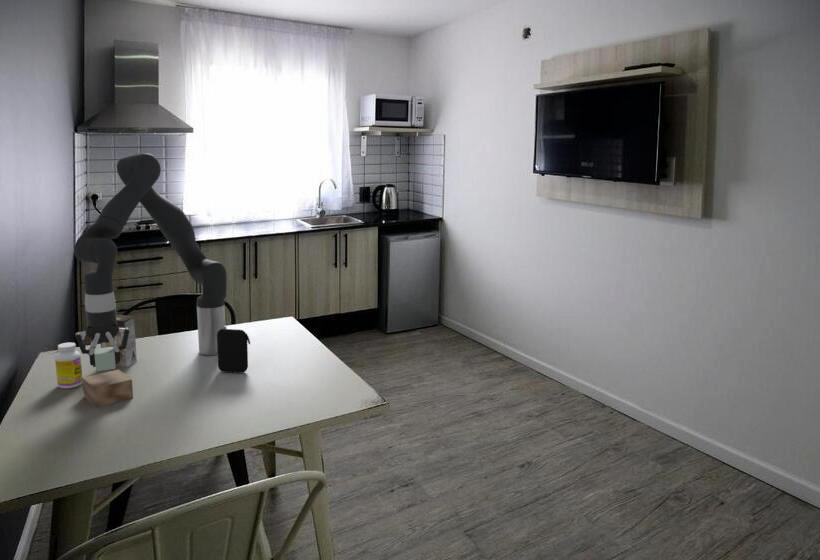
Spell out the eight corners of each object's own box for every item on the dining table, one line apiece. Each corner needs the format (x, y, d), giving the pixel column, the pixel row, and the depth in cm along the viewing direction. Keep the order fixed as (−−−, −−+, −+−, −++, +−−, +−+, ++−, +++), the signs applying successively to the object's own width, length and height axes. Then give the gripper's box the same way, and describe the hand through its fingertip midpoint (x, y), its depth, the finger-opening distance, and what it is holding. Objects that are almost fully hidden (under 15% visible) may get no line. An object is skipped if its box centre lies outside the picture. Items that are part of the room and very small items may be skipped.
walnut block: (119, 388, 177) (118, 369, 176) (133, 398, 171) (131, 379, 169) (84, 397, 170) (82, 377, 169) (96, 408, 164) (94, 388, 162)
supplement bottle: (77, 389, 175) (73, 348, 172) (54, 389, 174) (49, 348, 171) (86, 380, 182) (82, 341, 179) (63, 381, 181) (59, 341, 178)
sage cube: (115, 362, 172) (113, 346, 171) (115, 368, 167) (114, 352, 166) (95, 365, 169) (94, 348, 168) (95, 371, 165) (94, 354, 164)
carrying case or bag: (252, 371, 193) (251, 328, 190) (249, 374, 190) (248, 331, 187) (220, 369, 193) (218, 327, 190) (217, 373, 190) (215, 330, 187)
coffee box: (101, 365, 194) (96, 319, 190) (112, 359, 200) (108, 313, 196) (127, 367, 193) (123, 320, 189) (138, 360, 199) (134, 315, 195)
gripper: (128, 302, 171) (132, 357, 175) (71, 306, 165) (77, 363, 168) (129, 308, 165) (133, 365, 168) (70, 313, 158) (76, 373, 162)
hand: (105, 364), depth 168 cm, fingers closed on sage cube, 5 cm apart
